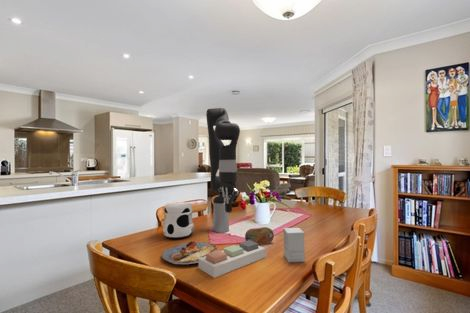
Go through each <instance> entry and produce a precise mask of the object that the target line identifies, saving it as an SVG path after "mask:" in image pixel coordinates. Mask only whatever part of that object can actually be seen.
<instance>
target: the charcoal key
mask: <svg viewBox="0 0 470 313" xmlns="http://www.w3.org/2000/svg"><path fill="white" fill-rule="evenodd" d="M238 245H239V247H241V248H243V250H245V251H248V252H250V251H252V250H255V249H258V246H259V245H258V243H255V242H253V241H250V240H248V241H246V240H245V241H242V242H239V244H238Z"/></svg>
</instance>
